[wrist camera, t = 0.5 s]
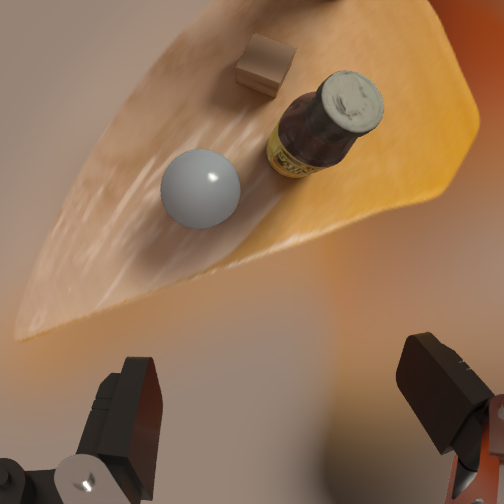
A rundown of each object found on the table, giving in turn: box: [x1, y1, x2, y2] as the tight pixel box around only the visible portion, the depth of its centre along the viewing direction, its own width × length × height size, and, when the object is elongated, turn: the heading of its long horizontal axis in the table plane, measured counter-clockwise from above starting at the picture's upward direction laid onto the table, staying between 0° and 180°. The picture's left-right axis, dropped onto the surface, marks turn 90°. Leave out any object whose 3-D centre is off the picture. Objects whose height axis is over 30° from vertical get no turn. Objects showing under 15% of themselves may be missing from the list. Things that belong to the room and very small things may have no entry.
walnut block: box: [236, 33, 297, 98], centre depth 32 cm, size 5×5×5 cm
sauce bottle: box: [266, 71, 384, 178], centre depth 26 cm, size 7×6×20 cm
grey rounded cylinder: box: [161, 149, 241, 229], centre depth 32 cm, size 7×7×9 cm
